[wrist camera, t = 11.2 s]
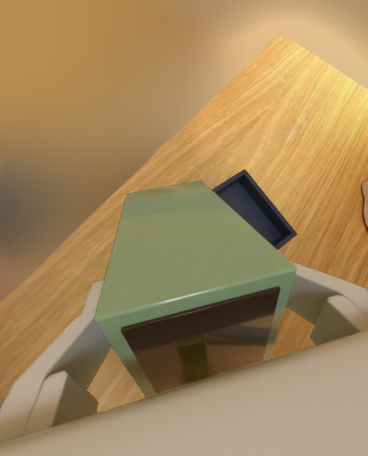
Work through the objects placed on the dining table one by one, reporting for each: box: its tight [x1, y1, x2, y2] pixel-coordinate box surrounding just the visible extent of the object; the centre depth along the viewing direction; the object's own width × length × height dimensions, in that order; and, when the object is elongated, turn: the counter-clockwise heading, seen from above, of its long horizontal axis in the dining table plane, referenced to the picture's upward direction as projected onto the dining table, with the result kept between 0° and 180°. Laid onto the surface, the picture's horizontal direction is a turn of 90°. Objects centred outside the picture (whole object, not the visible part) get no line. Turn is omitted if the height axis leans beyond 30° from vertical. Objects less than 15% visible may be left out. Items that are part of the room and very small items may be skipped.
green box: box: [94, 180, 297, 398], centre depth 9 cm, size 10×5×10 cm, turn 13°
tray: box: [212, 169, 297, 250], centre depth 28 cm, size 13×13×3 cm
